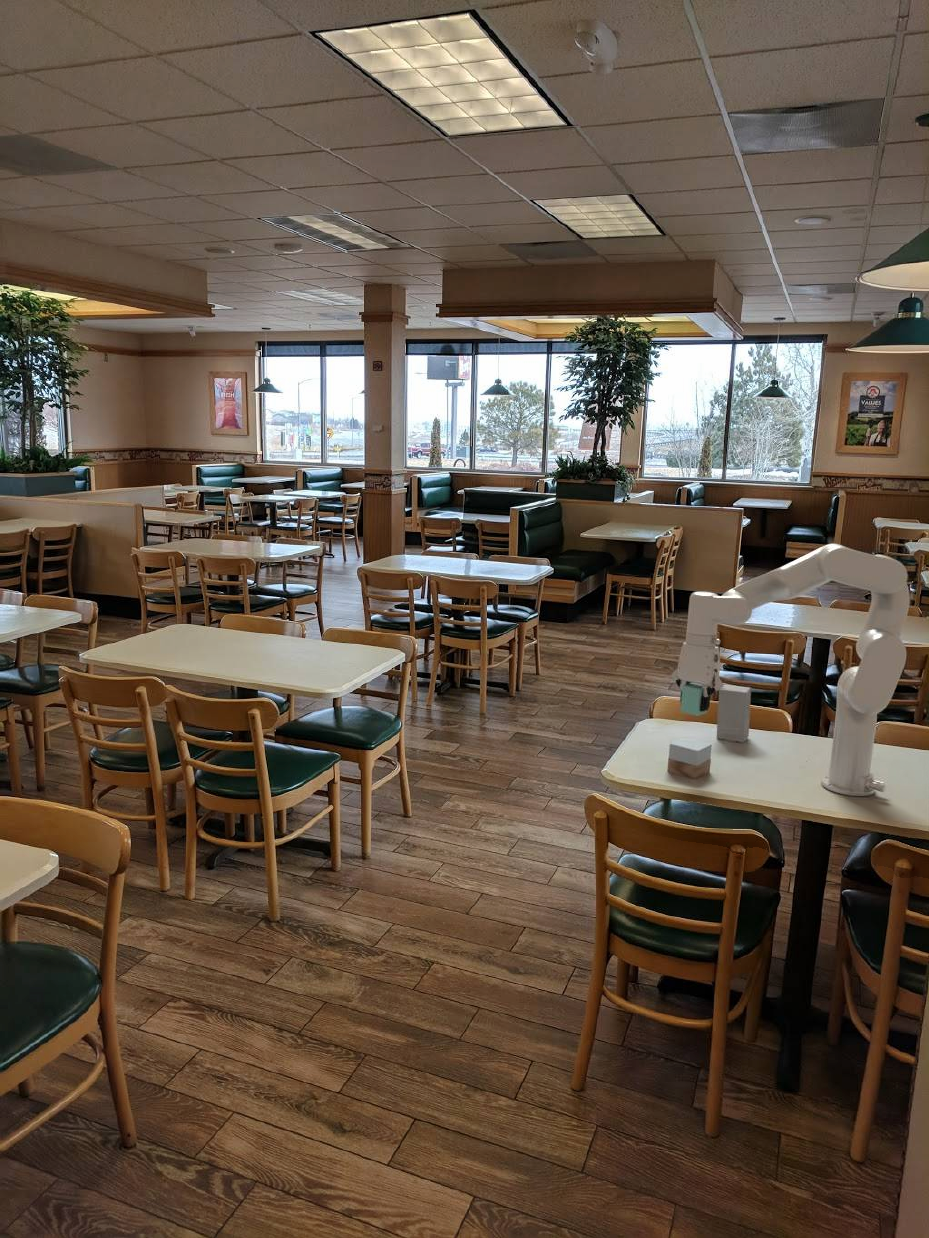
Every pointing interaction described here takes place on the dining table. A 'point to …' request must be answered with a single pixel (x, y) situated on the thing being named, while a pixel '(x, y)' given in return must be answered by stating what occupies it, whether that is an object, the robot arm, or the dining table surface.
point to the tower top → (690, 751)
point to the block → (692, 699)
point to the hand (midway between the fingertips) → (694, 707)
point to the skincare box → (733, 713)
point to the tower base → (689, 768)
